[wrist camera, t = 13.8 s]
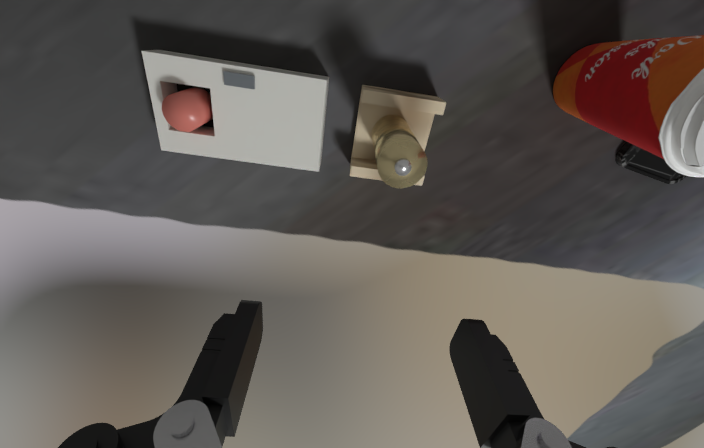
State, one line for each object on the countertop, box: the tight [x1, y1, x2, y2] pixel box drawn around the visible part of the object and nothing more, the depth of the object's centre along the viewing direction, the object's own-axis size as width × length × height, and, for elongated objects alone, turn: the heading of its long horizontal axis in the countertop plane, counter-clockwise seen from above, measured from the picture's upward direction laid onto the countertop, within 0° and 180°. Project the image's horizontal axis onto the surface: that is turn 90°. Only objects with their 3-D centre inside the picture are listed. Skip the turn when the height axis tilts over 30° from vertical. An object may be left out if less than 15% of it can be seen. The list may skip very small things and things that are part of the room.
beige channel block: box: [350, 85, 446, 186], centre depth 28 cm, size 7×8×3 cm
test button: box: [162, 87, 213, 132], centre depth 26 cm, size 3×3×4 cm
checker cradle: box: [142, 50, 329, 172], centre depth 27 cm, size 14×8×3 cm, turn 82°
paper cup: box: [553, 35, 704, 177], centre depth 20 cm, size 8×8×14 cm
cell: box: [372, 115, 427, 188], centre depth 25 cm, size 4×4×8 cm
